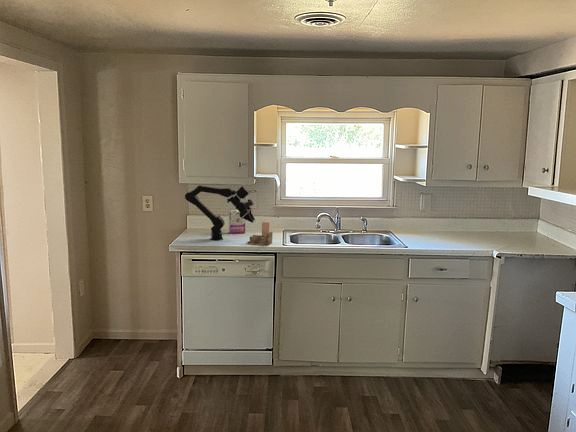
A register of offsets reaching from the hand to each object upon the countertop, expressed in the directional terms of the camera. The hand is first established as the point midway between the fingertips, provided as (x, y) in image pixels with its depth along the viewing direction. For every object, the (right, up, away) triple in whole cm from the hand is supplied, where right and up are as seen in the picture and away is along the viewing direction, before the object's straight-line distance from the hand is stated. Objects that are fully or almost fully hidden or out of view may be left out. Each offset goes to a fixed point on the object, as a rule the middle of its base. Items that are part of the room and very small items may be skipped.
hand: (253, 221), depth 314 cm
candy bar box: (-14, -9, +26) cm, 31 cm away
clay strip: (+8, -13, +2) cm, 15 cm away
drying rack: (+4, -14, -6) cm, 16 cm away
